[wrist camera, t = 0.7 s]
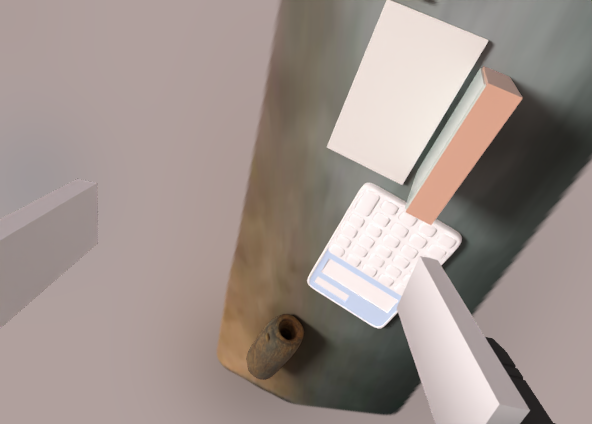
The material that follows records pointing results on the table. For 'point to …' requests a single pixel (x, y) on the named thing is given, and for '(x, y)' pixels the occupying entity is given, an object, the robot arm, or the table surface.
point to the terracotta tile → (462, 142)
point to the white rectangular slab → (403, 89)
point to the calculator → (377, 255)
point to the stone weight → (274, 346)
